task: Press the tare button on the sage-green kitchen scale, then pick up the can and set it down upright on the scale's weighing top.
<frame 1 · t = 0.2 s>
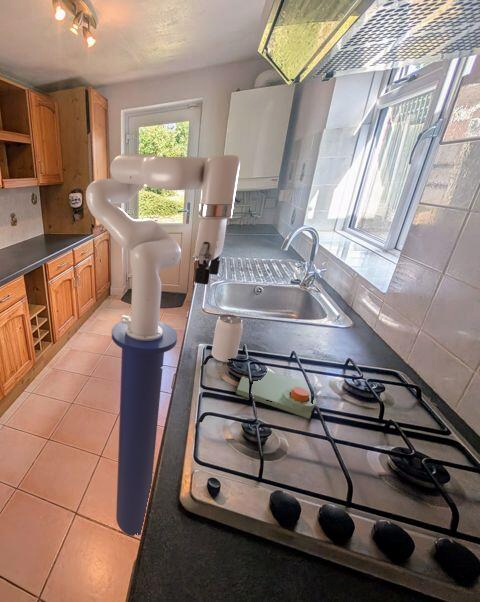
hand: (206, 278, 80), 22 cm above the counter, tool pointing down, fingers open, 9 cm apart
can: (223, 357, 85), on the counter
scale: (273, 391, 71), on the counter
tare button: (299, 394, 64), point 4 cm above the counter, slide at 0.1 cm
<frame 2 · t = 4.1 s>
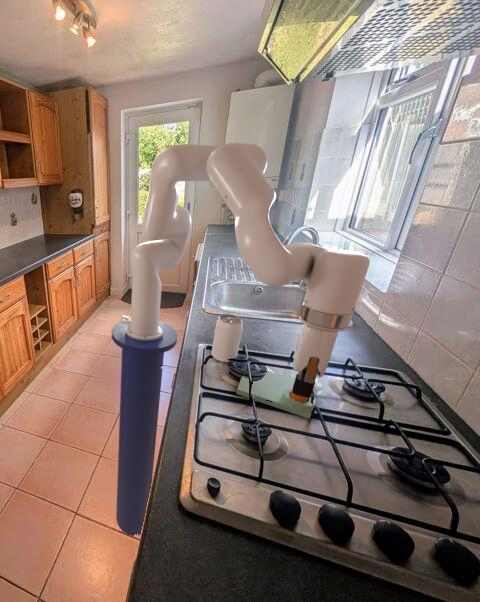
hand: (301, 393, 64), 4 cm above the counter, tool pointing down, fingers closed
tare button: (299, 396, 65), point 3 cm above the counter, slide at -0.4 cm, touching gripper
everything else where it was.
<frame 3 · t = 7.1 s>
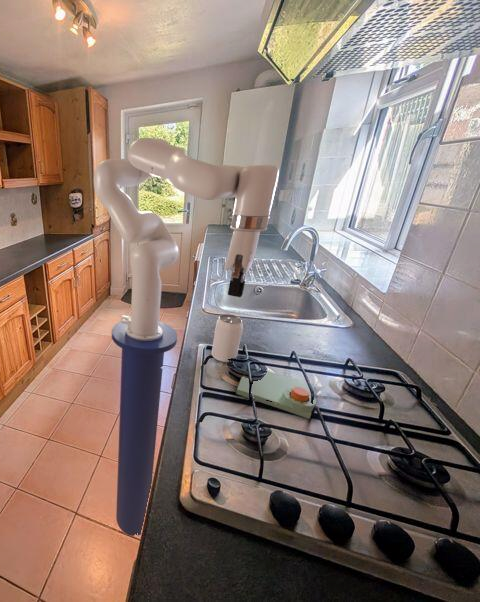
hand: (234, 295, 78), 19 cm above the counter, tool pointing down, fingers closed
tare button: (299, 394, 64), point 3 cm above the counter, slide at 0.1 cm
everything else where it was.
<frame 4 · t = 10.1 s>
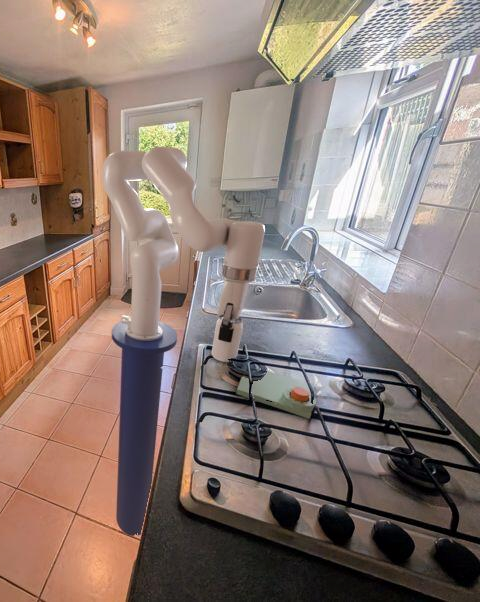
hand: (227, 334, 82), 7 cm above the counter, tool pointing down, fingers closed on can, 6 cm apart
can: (223, 357, 85), on the counter, touching gripper
everything else where it was.
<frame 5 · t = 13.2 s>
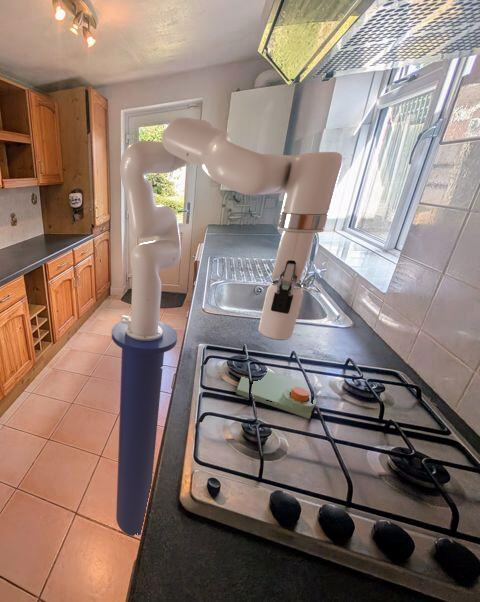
hand: (281, 305, 66), 21 cm above the counter, tool pointing down, fingers closed on can, 6 cm apart
can: (274, 334, 68), point 14 cm above the counter, touching gripper
everything else where it was.
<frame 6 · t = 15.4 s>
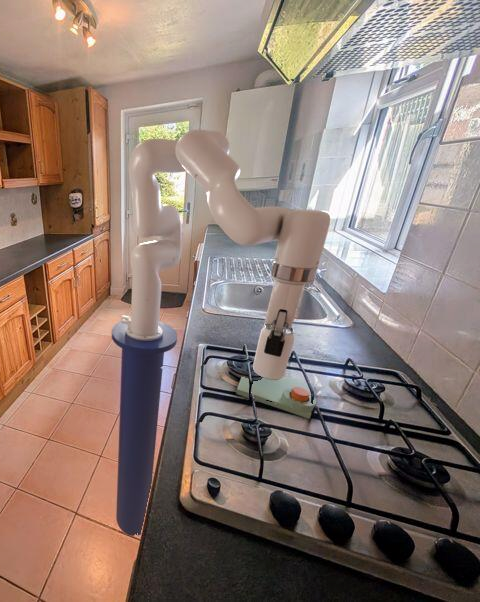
hand: (274, 346, 69), 11 cm above the counter, tool pointing down, fingers closed on can, 6 cm apart
can: (267, 373, 71), point 4 cm above the counter, touching gripper
everything else where it was.
when the fingers open (8 cm above the counter, at t = 16.7 s): can stays where it is, resting on scale.
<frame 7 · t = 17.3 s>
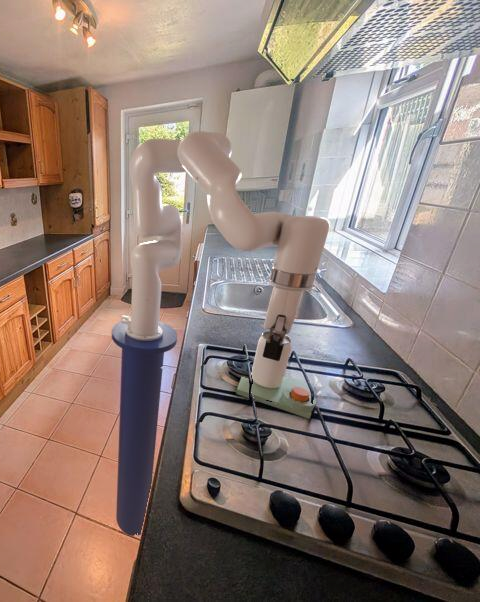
hand: (273, 348, 69), 10 cm above the counter, tool pointing down, fingers open, 9 cm apart
can: (265, 381, 72), point 1 cm above the counter, touching scale
everything else where it was.
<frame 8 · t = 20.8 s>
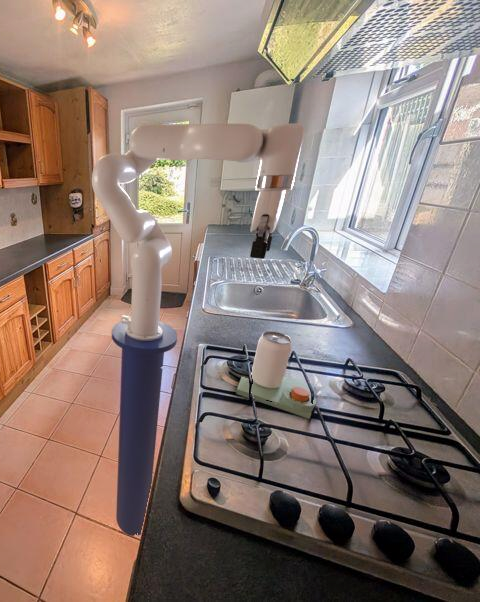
hand: (259, 253, 78), 28 cm above the counter, tool pointing down, fingers open, 9 cm apart
nothing on the counter moved.
at the end: tare button pushed in 0.9 cm at the most during the clip, back to where it started at the end; can inside the target area on the scale (2.3 cm from its centre), point 1.2 cm above the scale's base; can touching scale; can tilted 0° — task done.
